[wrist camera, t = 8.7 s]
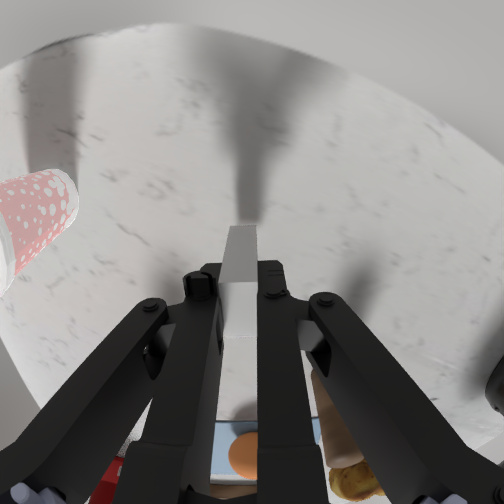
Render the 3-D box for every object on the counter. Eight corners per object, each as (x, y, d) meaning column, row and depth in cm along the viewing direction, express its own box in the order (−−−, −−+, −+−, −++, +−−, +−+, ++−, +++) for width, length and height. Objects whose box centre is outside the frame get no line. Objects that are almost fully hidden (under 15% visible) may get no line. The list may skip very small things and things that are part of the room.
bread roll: (423, 433, 31) (440, 478, 24) (390, 466, 35) (401, 506, 28) (342, 441, 30) (353, 496, 23) (315, 473, 34) (321, 519, 27)
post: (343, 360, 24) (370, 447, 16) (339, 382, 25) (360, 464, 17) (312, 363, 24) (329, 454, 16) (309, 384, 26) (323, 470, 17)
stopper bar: (313, 481, 35) (315, 495, 33) (312, 486, 36) (313, 498, 34) (206, 484, 36) (205, 497, 33) (208, 488, 37) (207, 501, 34)
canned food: (93, 452, 34) (74, 509, 24) (136, 457, 33) (120, 521, 23) (119, 474, 37) (106, 527, 27) (160, 479, 36) (150, 536, 26)
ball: (283, 487, 24) (279, 460, 29) (284, 447, 24) (279, 422, 29) (227, 488, 24) (231, 461, 29) (224, 448, 24) (228, 423, 29)
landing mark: (324, 417, 28) (324, 418, 28) (310, 470, 33) (310, 471, 33) (188, 420, 28) (188, 421, 28) (208, 472, 34) (208, 473, 34)
